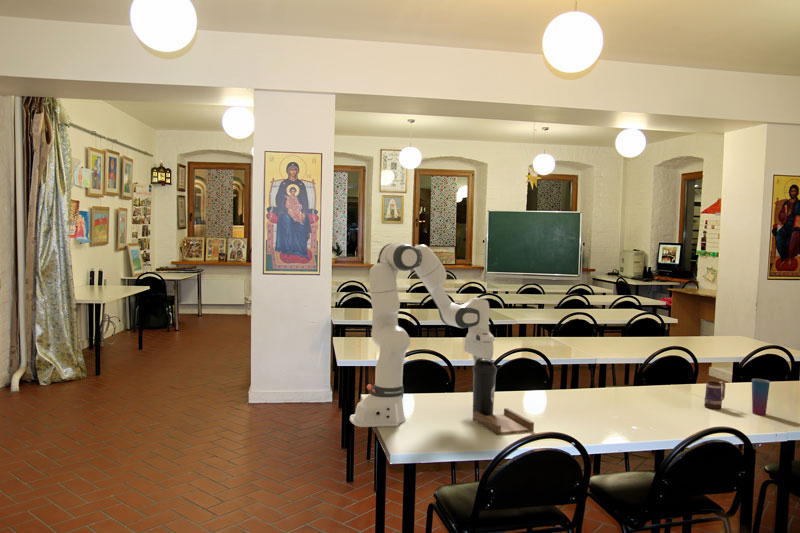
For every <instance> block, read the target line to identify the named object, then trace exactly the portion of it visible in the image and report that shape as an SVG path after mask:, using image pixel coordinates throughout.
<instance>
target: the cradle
mask: <svg viewBox="0 0 800 533" xmlns="http://www.w3.org/2000/svg"><path fill="white" fill-rule="evenodd" d="M472 419H473V421H474V422H476V421H477V423H478V424H479V425H481V426H482V427H484V428H486V429H487V430H489V431H490V432H491V433H493V434H495V435H496V436H501V435H502V436H504V435H512V434H513V435H514V434H523V433H532V432H534V428H535V422H534V421H532V420H530V419H528V418H526V417H525V416H522V415H521V414H519V413H517V412H515V411H513V410H511V409H509V408H506V407H505V408H504V409H503V414H493V415H490V416H484V415H483V414H481V413H479V412H478V411H473V410H472Z"/></svg>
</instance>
